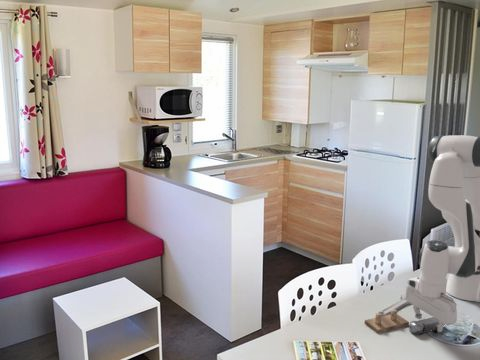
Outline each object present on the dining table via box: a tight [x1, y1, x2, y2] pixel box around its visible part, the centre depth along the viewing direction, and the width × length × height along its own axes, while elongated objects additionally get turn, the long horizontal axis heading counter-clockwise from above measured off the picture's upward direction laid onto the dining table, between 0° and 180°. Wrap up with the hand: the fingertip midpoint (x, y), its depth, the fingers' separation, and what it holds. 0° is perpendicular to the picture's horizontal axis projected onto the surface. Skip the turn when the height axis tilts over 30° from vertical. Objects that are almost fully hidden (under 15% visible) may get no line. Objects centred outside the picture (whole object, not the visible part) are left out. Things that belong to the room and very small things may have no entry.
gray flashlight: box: [409, 316, 440, 336], centre depth 163 cm, size 14×4×3 cm, turn 114°
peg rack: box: [364, 309, 410, 334], centre depth 166 cm, size 14×7×5 cm, turn 114°
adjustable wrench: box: [377, 293, 411, 316], centre depth 180 cm, size 25×6×2 cm, turn 126°
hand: (428, 324), depth 164 cm, fingers open, 8 cm apart
